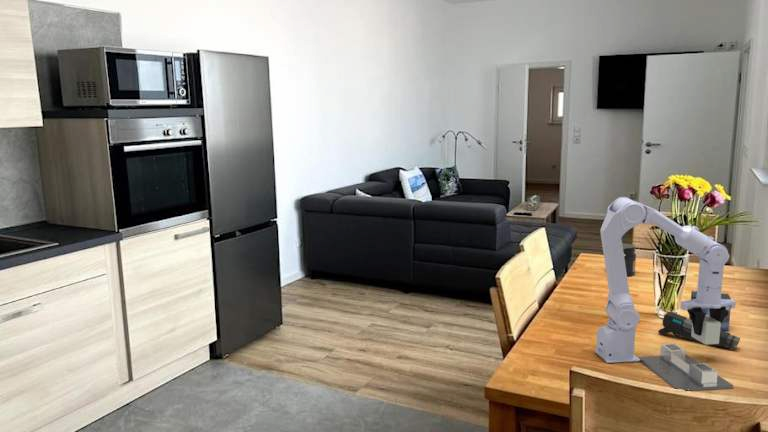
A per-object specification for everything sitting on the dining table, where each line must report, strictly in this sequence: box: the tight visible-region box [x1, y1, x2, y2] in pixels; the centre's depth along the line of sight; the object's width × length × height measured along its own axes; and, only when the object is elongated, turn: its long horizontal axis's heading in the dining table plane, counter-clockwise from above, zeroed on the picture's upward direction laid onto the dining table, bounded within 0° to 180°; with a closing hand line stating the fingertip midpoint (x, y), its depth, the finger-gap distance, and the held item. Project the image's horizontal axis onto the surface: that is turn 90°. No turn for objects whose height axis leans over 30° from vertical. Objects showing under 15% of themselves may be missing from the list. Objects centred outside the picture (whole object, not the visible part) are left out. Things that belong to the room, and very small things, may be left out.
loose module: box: [691, 315, 721, 345], centre depth 161 cm, size 4×6×6 cm, turn 6°
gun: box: [658, 311, 741, 351], centre depth 174 cm, size 4×20×10 cm, turn 51°
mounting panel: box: [637, 343, 734, 391], centre depth 153 cm, size 14×19×5 cm
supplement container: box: [622, 243, 637, 277], centre depth 248 cm, size 10×10×12 cm
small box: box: [688, 290, 732, 333], centre depth 186 cm, size 11×6×10 cm, turn 70°
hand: (705, 333), depth 161 cm, fingers closed on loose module, 4 cm apart
